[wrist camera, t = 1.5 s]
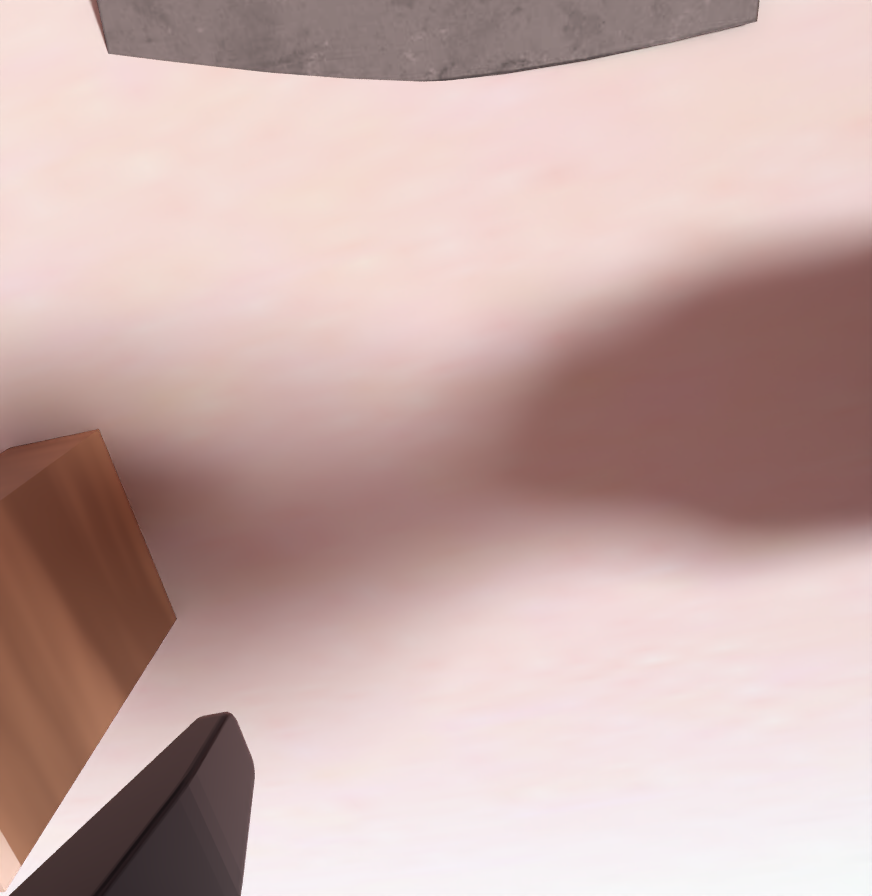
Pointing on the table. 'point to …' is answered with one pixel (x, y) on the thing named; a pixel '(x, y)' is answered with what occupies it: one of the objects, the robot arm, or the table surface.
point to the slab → (65, 624)
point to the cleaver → (404, 33)
